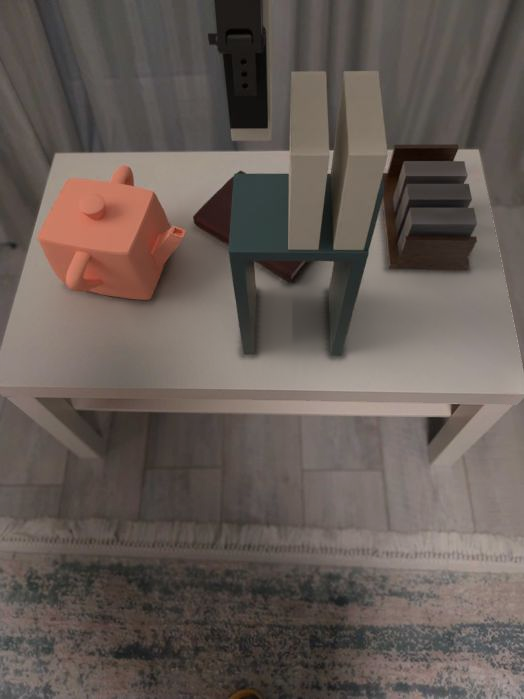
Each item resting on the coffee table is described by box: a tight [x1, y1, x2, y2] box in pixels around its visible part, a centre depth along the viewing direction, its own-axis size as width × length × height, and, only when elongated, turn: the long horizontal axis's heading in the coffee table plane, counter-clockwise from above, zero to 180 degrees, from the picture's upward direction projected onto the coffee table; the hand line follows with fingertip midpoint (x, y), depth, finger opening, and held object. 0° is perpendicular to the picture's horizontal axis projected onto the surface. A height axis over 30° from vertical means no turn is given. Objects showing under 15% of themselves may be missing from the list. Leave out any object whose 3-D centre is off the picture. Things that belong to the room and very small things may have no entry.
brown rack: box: [381, 143, 478, 270], centre depth 77 cm, size 19×12×9 cm, turn 178°
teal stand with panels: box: [227, 70, 389, 356], centre depth 57 cm, size 14×11×36 cm
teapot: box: [36, 165, 187, 301], centre depth 72 cm, size 20×22×14 cm
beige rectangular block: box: [230, 0, 275, 142], centre depth 34 cm, size 3×10×12 cm, turn 178°
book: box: [192, 170, 310, 283], centre depth 79 cm, size 13×19×3 cm, turn 53°
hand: (252, 76), depth 38 cm, fingers closed on beige rectangular block, 10 cm apart
